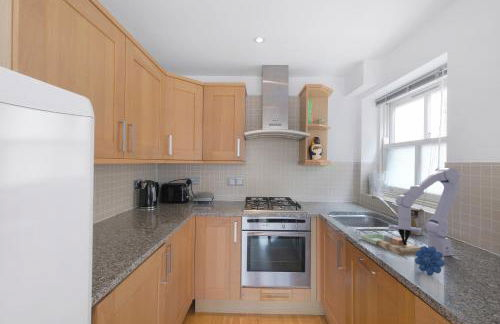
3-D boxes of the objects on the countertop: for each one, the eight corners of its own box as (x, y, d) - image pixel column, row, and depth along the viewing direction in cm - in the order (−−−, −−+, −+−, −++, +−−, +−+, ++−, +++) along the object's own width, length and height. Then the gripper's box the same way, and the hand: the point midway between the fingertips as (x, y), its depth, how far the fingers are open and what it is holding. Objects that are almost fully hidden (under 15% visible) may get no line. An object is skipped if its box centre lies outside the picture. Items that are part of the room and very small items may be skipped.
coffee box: (404, 232, 168) (403, 208, 169) (410, 231, 171) (409, 207, 171) (418, 235, 160) (417, 210, 160) (424, 234, 163) (423, 209, 163)
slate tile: (398, 241, 136) (398, 237, 136) (390, 242, 135) (390, 237, 135) (392, 239, 141) (392, 234, 141) (384, 239, 140) (384, 235, 140)
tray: (395, 243, 143) (395, 239, 143) (375, 245, 140) (375, 240, 140) (379, 237, 155) (378, 233, 156) (360, 238, 152) (360, 234, 152)
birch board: (420, 253, 127) (420, 247, 127) (401, 255, 124) (401, 249, 124) (395, 243, 142) (395, 238, 142) (377, 245, 139) (377, 240, 139)
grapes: (451, 279, 98) (451, 248, 98) (440, 281, 95) (440, 250, 95) (422, 267, 108) (422, 240, 109) (411, 270, 106) (411, 241, 106)
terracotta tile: (406, 244, 131) (406, 239, 131) (398, 245, 130) (398, 240, 131) (399, 241, 136) (399, 237, 136) (391, 242, 135) (391, 237, 135)
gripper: (421, 218, 129) (421, 245, 129) (389, 215, 137) (389, 240, 137) (421, 221, 123) (421, 248, 123) (388, 217, 131) (388, 243, 131)
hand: (404, 244), depth 129 cm, fingers closed
